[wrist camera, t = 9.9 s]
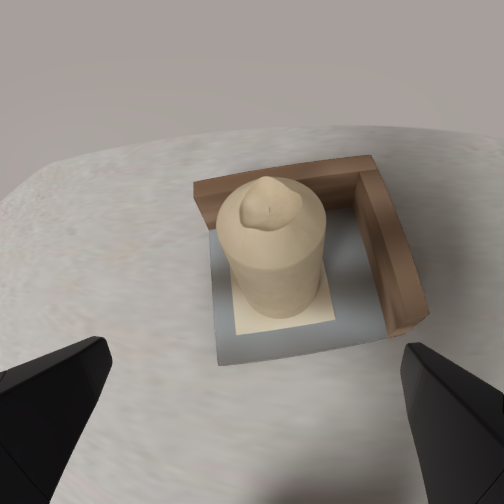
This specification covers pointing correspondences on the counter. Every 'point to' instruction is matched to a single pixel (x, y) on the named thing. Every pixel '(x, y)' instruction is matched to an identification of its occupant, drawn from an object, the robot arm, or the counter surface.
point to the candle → (274, 243)
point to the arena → (322, 268)
